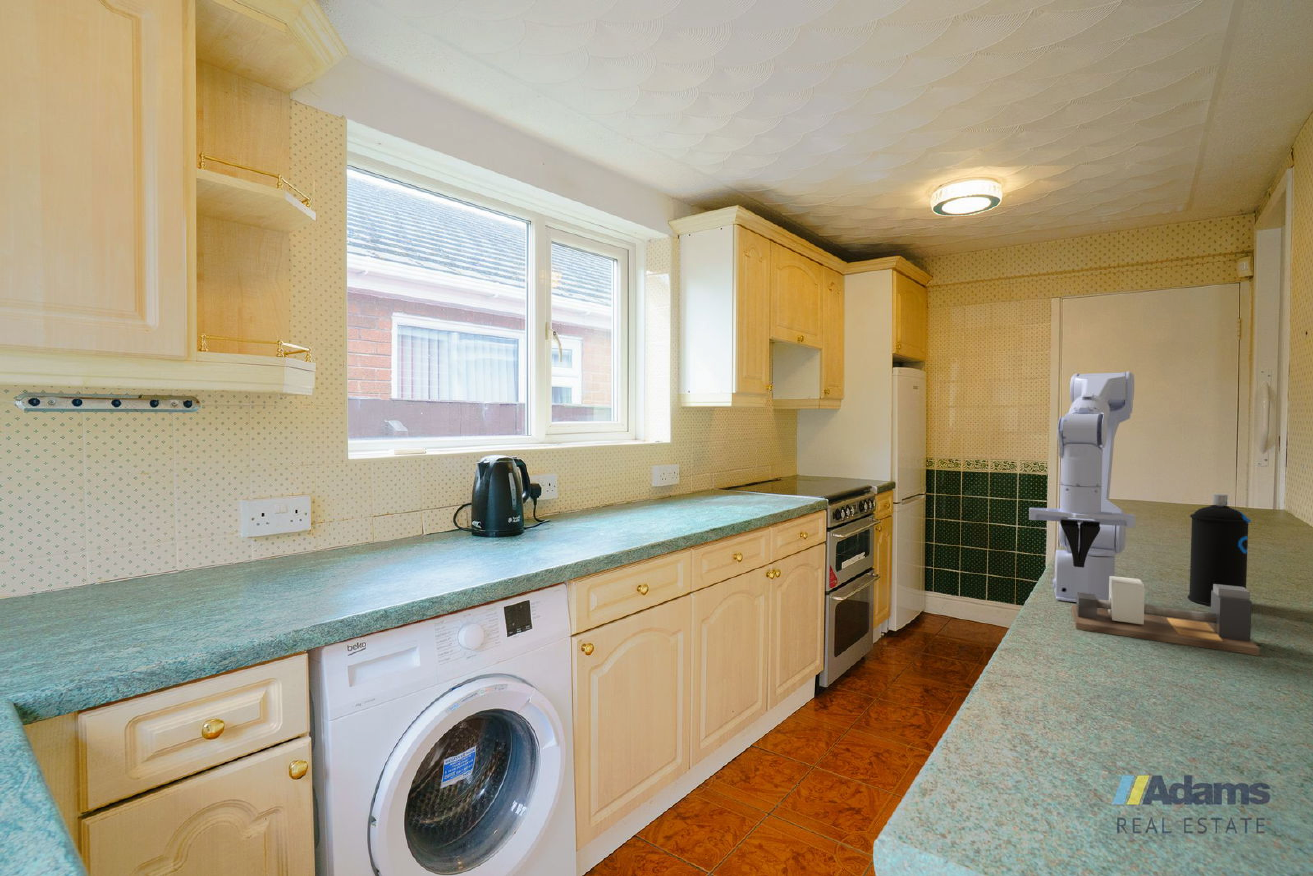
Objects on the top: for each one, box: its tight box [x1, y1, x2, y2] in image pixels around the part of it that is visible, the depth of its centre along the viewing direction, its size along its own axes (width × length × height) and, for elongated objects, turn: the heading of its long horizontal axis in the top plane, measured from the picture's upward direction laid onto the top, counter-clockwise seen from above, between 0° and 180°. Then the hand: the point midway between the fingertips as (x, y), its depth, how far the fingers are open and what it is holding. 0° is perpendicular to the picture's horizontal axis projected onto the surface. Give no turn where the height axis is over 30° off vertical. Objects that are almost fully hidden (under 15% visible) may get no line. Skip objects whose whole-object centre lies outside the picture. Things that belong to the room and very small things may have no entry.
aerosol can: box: [1187, 493, 1251, 607], centre depth 114 cm, size 8×8×20 cm
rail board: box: [1070, 592, 1261, 656], centre depth 99 cm, size 22×11×4 cm, turn 60°
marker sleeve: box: [1108, 575, 1146, 624], centre depth 101 cm, size 4×5×6 cm
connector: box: [1209, 584, 1253, 642], centre depth 94 cm, size 4×5×7 cm
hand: (1078, 566), depth 104 cm, fingers closed
